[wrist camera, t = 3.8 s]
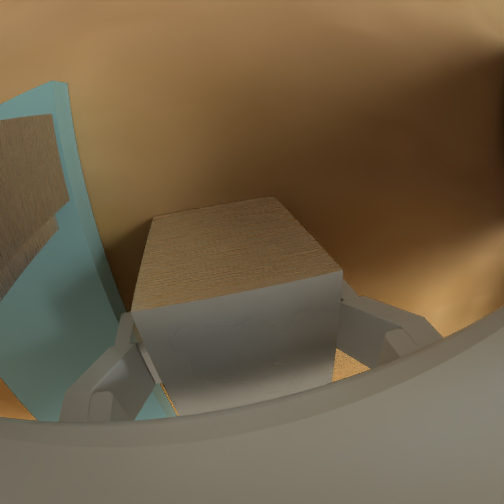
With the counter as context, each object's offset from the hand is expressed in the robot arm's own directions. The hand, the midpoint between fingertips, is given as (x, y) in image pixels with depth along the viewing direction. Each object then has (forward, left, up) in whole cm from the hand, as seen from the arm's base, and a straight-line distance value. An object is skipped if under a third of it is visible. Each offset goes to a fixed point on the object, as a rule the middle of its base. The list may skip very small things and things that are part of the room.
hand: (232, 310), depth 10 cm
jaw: (-8, -8, 0) cm, 11 cm away
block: (0, 0, -2) cm, 2 cm away
